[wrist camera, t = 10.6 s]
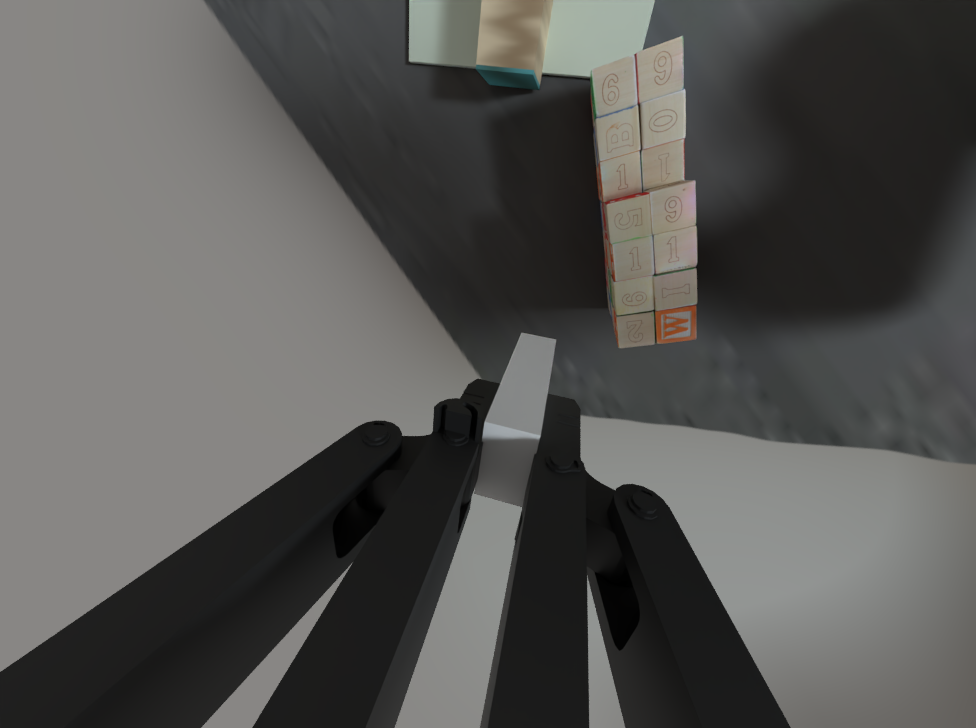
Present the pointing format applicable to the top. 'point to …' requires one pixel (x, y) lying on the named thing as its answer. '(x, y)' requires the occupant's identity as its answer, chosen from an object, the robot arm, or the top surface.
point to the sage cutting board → (570, 44)
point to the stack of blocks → (646, 196)
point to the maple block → (513, 42)
